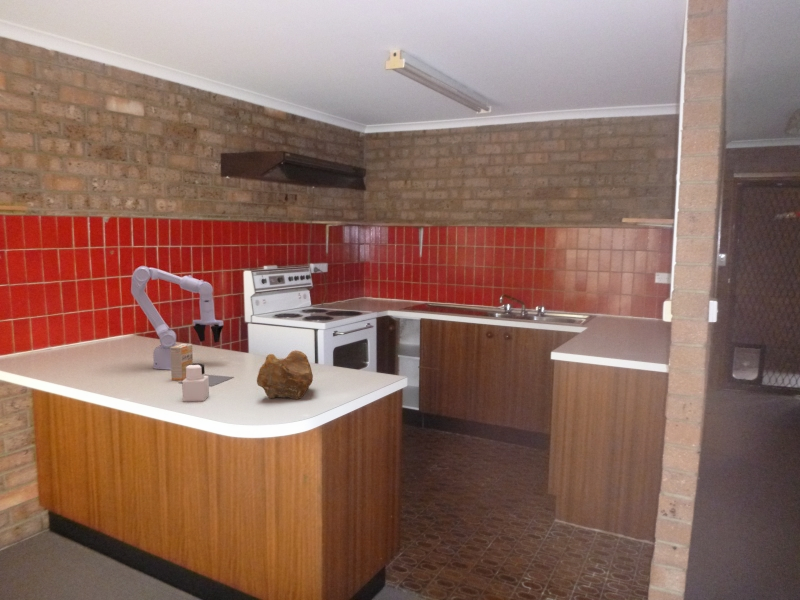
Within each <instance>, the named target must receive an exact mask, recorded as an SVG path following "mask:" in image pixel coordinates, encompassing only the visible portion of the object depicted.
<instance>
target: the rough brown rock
mask: <svg viewBox="0 0 800 600" xmlns="http://www.w3.org/2000/svg"><path fill="white" fill-rule="evenodd" d="M313 378H314V375H313V369H312V367H311V364H310V361H309V359H308V356H307V355H306V353H304V352H303V351H300V350H297V349H296V350H292V351H291V352H290V353H289V354H288V355H287V357H285V358H277V357H276V355H275V354H272V353H269V354H268V355H266V357H265V361H264V363H263V364H262V365H261V367H260V368H259V369H258V374H257V377H256V384H257V386H259V387H261V388H262V389H263V391H264V392H265V395H266V397H268V399H269V398H270V399H275V398H277V397H279V398H287V397H288V398H291V399H292V400H293V399H294V400H299V399H301V398H302V397H303V396H304V395H305V393H306V391H307V390H308V389H309V388H310V386H311V385H312V383H313Z"/></svg>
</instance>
